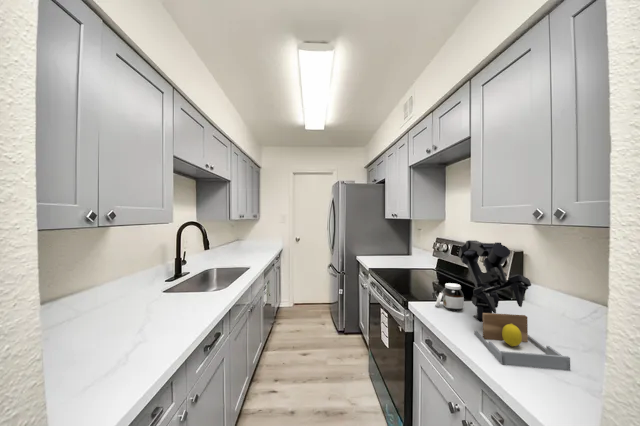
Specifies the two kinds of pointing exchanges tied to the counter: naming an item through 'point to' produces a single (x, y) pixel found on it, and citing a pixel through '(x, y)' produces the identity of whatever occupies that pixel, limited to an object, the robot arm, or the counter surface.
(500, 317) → the board
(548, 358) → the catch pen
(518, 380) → the counter surface
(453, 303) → the spread jar
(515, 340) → the lemon
